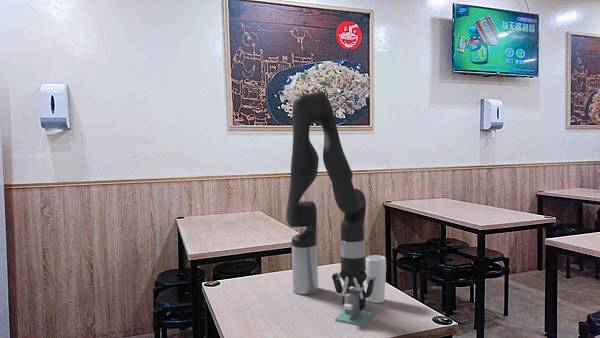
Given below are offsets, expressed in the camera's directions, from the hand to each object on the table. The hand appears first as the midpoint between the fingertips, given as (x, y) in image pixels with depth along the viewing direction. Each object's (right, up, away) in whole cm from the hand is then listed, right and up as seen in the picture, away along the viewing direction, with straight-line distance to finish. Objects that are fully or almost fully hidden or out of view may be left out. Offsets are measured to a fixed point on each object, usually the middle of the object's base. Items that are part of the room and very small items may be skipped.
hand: (354, 307), depth 128 cm
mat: (0, -3, 0) cm, 3 cm away
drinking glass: (+10, -2, +13) cm, 16 cm away
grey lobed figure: (0, -1, 0) cm, 1 cm away
